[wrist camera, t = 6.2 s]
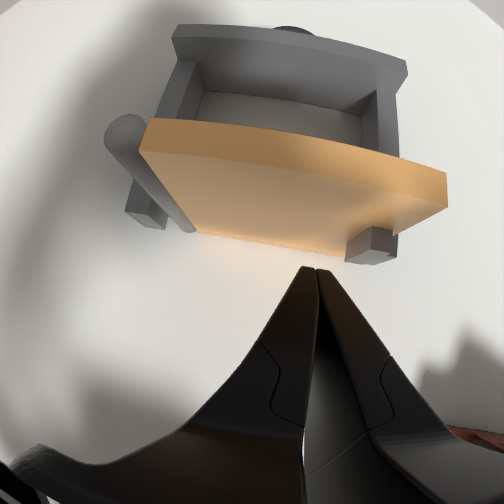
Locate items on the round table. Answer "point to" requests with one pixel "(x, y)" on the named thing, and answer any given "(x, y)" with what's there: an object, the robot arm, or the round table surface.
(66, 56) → the round table surface
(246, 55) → the grey cabinet body
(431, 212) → the side door
